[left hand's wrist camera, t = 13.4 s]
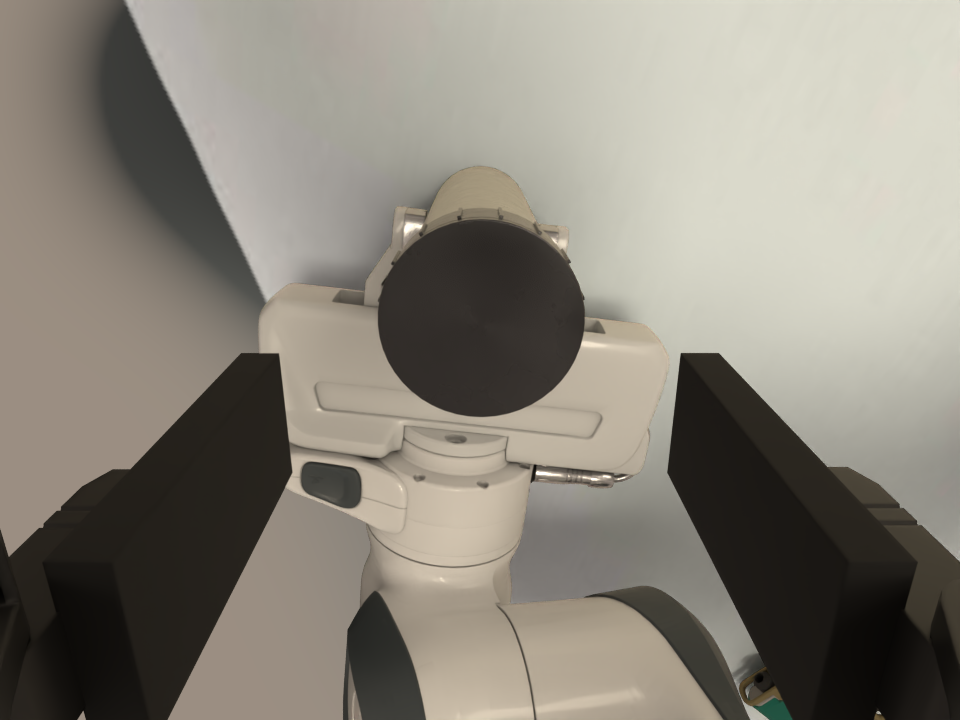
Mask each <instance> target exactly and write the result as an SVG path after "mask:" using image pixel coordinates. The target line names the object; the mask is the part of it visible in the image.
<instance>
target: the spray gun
mask: <svg viewBox="0 0 960 720" xmlns="http://www.w3.org/2000/svg"><path fill="white" fill-rule="evenodd" d="M752 682H754V685H755V686H753V687H752V688H751V689H750V692H749V695H748V698H747V696H746V692H745V689H746V687H747V686H748V685H749V684H751V683H752ZM739 691H740V694H741V697H742V699H743V701H744V702H745V703H746V704H748V705H749V706H753V707H754V708H755V709H757V710H758V711H759V712H760V713H762V714H763V715H764V716H765V717H767V718H768V719H769V720H792V718H791V716H790V714H789V712H788V710H787V708H786V706H785V704H784V702H783V700H782V698H781V696H780V694H779V692H778V690H777V688H776V686H775V684H774V682H773V680H772V678H771V676H770V674H769V672H768V670H767V668H766V666H765V667H764V668H762V669H761V670H759V671H758V672H756V673H754V674H753V675H751V676H750V677H748V678H746V679H745V680H743V681H742V682H741V684H740V686H739ZM877 711H879V709H878V708H877ZM877 711H876V712H877ZM874 719H875V720H885V719H884V717H883V716H882V714H877V713H876V714H875V718H874Z"/></svg>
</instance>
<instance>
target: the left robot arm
mask: <svg viewBox="0 0 960 720" xmlns="http://www.w3.org/2000/svg"><path fill="white" fill-rule="evenodd" d="M292 473H293V471H292V463H291V454H290V445H289V436H288V427H287V418H286V410H285V401H284V392H283V383H282V374H281V365H280V356H279V353H241V354H240V355H239V356H238V357H237V358H236V359H235V360H234V361H233V362H232V363H231V365H230V366H229V367H228V368H227V369H226V370H225V371H224V372H223V373H222V374H221V375H220V376H219V377H218V378H217V379H216V380H215V381H214V382H213V383H212V384H211V385H210V387H209V388H208V389H207V390H206V391H205V392H204V393H203V394H202V395H201V396H200V397H199V398H198V399H197V400H196V401H195V402H194V403H193V404H192V405H191V406H190V407H189V408H188V410H187V411H186V412H185V413H184V414H183V415H182V416H181V417H180V418H179V419H178V420H177V421H176V422H175V423H174V424H173V425H172V426H171V427H170V428H169V429H168V431H167V432H166V433H165V434H164V435H163V436H162V437H161V438H160V439H159V440H158V441H157V442H156V443H155V444H154V445H153V446H152V447H151V448H150V449H149V450H148V452H147V453H146V454H145V455H144V456H143V457H142V458H141V459H140V460H139V461H138V462H137V463H136V464H135V465H134V466H133V467H132V468H131V469H113V470H111V471H109V472H107V473H106V474H104V475H102V476H100V477H98V478H97V479H95V480H93V481H91V482H89V483H88V484H86V485H84V486H82V487H81V488H80V489H79V490H78V491H77V492H76V493H75V494H74V495H73V496H72V497H71V498H70V499H69V500H68V501H67V502H66V503H65V504H63V505H62V506H61V511H56V512H55V513H54V514H53V515H52V516H51V517H50V518H49V519H48V520H47V521H46V522H45V523H44V526H43V528H39V529H38V530H36V531H35V532H34V533H33V534H32V535H31V536H30V537H29V538H28V539H27V540H26V541H25V542H24V543H23V544H22V545H21V546H20V547H19V548H18V549H17V550H16V551H15V552H14V553H13V554H12V555H11V556H10V557H8V553H7V550H6V547H5V543H4V540H3V537H2V533H1V530H0V720H77V719H78V718H79V716H80V715H81V713H82V712H83V711H84V714H85V718H86V720H168V718H169V716H170V714H171V712H172V710H173V708H174V706H175V704H176V702H177V700H178V698H179V696H180V694H181V692H182V690H183V688H184V686H185V684H186V682H187V680H188V678H189V676H190V674H191V672H192V670H193V668H194V666H195V664H196V662H197V660H198V658H199V656H200V654H201V652H202V650H203V648H204V646H205V644H206V642H207V641H208V639H209V637H210V635H211V633H212V631H213V629H214V627H215V625H216V623H217V621H218V619H219V617H220V615H221V613H222V611H223V609H224V607H225V605H226V603H227V601H228V599H229V597H230V595H231V593H232V591H233V589H234V587H235V585H236V583H237V581H238V579H239V577H240V575H241V573H242V572H243V570H244V568H245V566H246V564H247V562H248V560H249V558H250V556H251V554H252V552H253V550H254V548H255V546H256V544H257V542H258V540H259V538H260V536H261V534H262V532H263V530H264V528H265V526H266V524H267V522H268V520H269V518H270V516H271V514H272V512H273V510H274V508H275V506H276V504H277V502H278V500H279V498H280V497H281V495H282V493H283V491H284V489H285V487H286V485H287V483H288V481H289V479H290V477H291V475H292ZM667 473H668V475H669V477H670V479H671V481H672V483H673V485H674V487H675V489H676V491H677V493H678V495H679V497H680V498H681V500H682V502H683V504H684V506H685V508H686V510H687V512H688V514H689V516H690V518H691V520H692V522H693V524H694V526H695V528H696V530H697V532H698V534H699V536H700V538H701V540H702V542H703V544H704V546H705V548H706V550H707V552H708V554H709V556H710V558H711V560H712V562H713V564H714V566H715V568H716V570H717V572H718V573H719V575H720V577H721V579H722V581H723V583H724V585H725V587H726V589H727V591H728V593H729V595H730V597H731V599H732V601H733V603H734V605H735V607H736V609H737V611H738V613H739V615H740V617H741V619H742V621H743V623H744V625H745V627H746V629H747V631H748V633H749V635H750V637H751V639H752V641H753V643H754V645H755V646H756V648H757V650H758V652H759V654H760V656H761V658H762V660H763V662H764V664H765V666H766V668H767V670H768V672H769V674H770V676H771V678H772V680H773V682H774V684H775V686H776V688H777V690H778V692H779V694H780V696H781V698H782V700H783V702H784V704H785V706H786V708H787V710H788V712H789V714H790V716H791V718H792V720H874V718H875V714H876V711H877V708H878V709H879V711H880V713H881V714H882V716H883V717H884V719H885V720H960V562H959V561H958V560H957V559H956V558H955V557H954V556H953V555H952V554H951V553H950V552H949V551H948V550H947V549H946V548H945V547H944V546H943V545H942V544H940V543H939V542H938V541H937V540H936V539H935V538H934V537H933V536H932V535H931V534H930V533H929V532H928V531H927V530H926V529H925V528H924V527H923V526H922V525H917V521H916V520H915V519H914V518H913V517H912V516H911V515H910V514H909V513H908V512H907V511H906V510H905V509H904V508H900V506H899V505H900V504H899V503H898V502H897V501H896V500H895V499H893V498H892V497H891V496H890V495H889V494H888V493H887V492H886V491H885V490H884V489H883V488H882V487H881V486H880V485H879V484H877V483H875V482H874V481H872V480H870V479H868V478H866V477H865V476H863V475H861V474H859V473H857V472H856V471H854V470H852V469H850V468H848V467H827V466H826V465H825V464H824V463H823V462H822V461H821V460H820V459H819V458H818V457H817V456H816V455H815V454H814V453H813V451H812V450H811V449H810V448H809V447H808V446H807V445H806V444H805V443H804V442H803V441H802V440H801V439H800V438H799V437H798V436H797V435H796V434H795V433H794V432H793V431H792V429H791V428H790V427H789V426H788V425H787V424H786V423H785V422H784V421H783V420H782V419H781V418H780V417H779V416H778V415H777V414H776V413H775V412H774V411H773V410H772V408H771V407H770V406H769V405H768V404H767V403H766V402H765V401H764V400H763V399H762V398H761V397H760V396H759V395H758V394H757V393H756V392H755V391H754V390H753V389H752V388H751V386H750V385H749V384H748V383H747V382H746V381H745V380H744V379H743V378H742V377H741V376H740V375H739V374H738V373H737V372H736V371H735V370H734V369H733V368H732V367H731V366H730V364H729V363H728V362H727V361H726V360H725V359H724V358H723V357H722V356H721V355H720V354H719V353H681V356H680V365H679V374H678V383H677V392H676V401H675V410H674V418H673V427H672V436H671V445H670V454H669V463H668V471H667Z"/></svg>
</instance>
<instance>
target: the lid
mask: <svg viewBox="0 0 960 720" xmlns="http://www.w3.org/2000/svg"><path fill="white" fill-rule="evenodd" d="M569 263H571V262H570V260H569V258H568V256H567V255H566V253H565V251H564V250H563V248H562V249H561V250H560V249H559V247H558V245H557V244H556V243H555V242H554V241H553V240H552V238H551V237H550V236H549V235H548V234H547V233H545V232H544V231H543V230H542V229H541V228H540V227H539V224H538V223H537V222H534V223H532V222H531V221H529V220H527V219H525V218H523V217H521V216H519V215H517V214H514V213H511V212H508V211H504V210H502V208H501V207H498V209H493V208H470V209H464V210H462V207H461V208H459V209H458V211H454V212H452V213H449V214H446V215H443V216H441V217H439V218H437V219H435V220H433V221H431V222H430V223H428V224H426V223H424V224H423V225H422V227H421V229H420V230H419V231H418V232H417V233H416V234H415V235H414V236H412V237H411V239H410V240H409V241H408V242H407V243H406V245H405V246H404V247H403V249H402V250H401V251H399V250H398V252H397V253H396V255H395V257H394V259H393V261H392V262H391V265H393V266H392V268H391V270H390V272H389V274H388V276H387V278H386V281H385V283H384V285H383V288H382V292H381V294H380V296H379V298H378V302H379V306H378V330H379V337H380V341H381V345H382V348H383V351H384V353H385V356H386V358H387V360H388V362H389V364H390V366H391V367H392V369H393V371H394V372H395V374H396V375H397V376H398V378H399V379H400V380H401V381H402V383H403V384H404V385H405V386H406V387H407V388H408V389H410V390H411V391H412V392H413V393H414V394H415V395H417V396H418V397H419V398H421V399H422V400H424V401H426V402H427V403H429V404H431V405H432V406H435V407H437V408H439V409H442V410H444V411H447V412H450V413H454V414H457V415H463V416H469V417H492V416H499V415H505V414H509V413H512V412H515V411H518V410H521V409H523V408H525V407H528V406H530V405H532V404H533V403H535V402H537V401H538V400H540V399H542V398H543V397H544V396H546V395H547V394H548V393H549V392H551V391H552V390H553V389H554V388H555V387H556V386H557V385H558V384H559V383H560V382H561V381H562V379H563V378H564V377H565V375H566V374H567V373H568V372H569V370H570V368H571V367H572V365H573V363H574V361H575V359H576V357H577V354H578V352H579V350H580V347H581V343H582V339H583V335H584V326H585V308H584V302H583V300H584V296H583V294H582V292H581V290H580V286H579V283H578V281H577V279H576V277H575V275H574V273H573V271H572V269H571V267H570V265H569Z"/></svg>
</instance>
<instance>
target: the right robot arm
mask: <svg viewBox="0 0 960 720" xmlns="http://www.w3.org/2000/svg"><path fill="white" fill-rule="evenodd" d="M427 212H428V211H427V210H423V209H416V208H409V207H401V206H397V208H396V209H395V213H394V218H393V230H392V243H391V245H390V246H389V248H388V249H387V251H386V252H385V253H384V255H383V256H382V258H381V259H380V261H379V262H378V263H377V265H376V266H375V268H374V269H373V271H372V272H371V274H370V275H369V277H368V278H367V280H366V281H365V291H360V290H351V289H343V288H334V287H325V286H317V285H309V284H301V283H291V284H288V285H286V286H285V287H284V288H282V289H281V290H280V291H279V292H277V293H276V294H275V295H274V296H273V297H272V298H271V299H270V300H269V301H268V302H267V303H266V304H265V305H264V307H263V309H262V311H261V313H260V316H259V322H258V345H259V353H279V356H280V365H281V374H282V383H283V392H284V401H285V410H286V418H287V427H288V436H289V445H290V454H291V463H292V471H293V473H292V475H291V477H290V479H289V481H288V483H287V485H286V487H285V488H286V489H288V490H290V491H292V492H294V493H296V494H299V495H301V496H304V497H306V498H309V499H312V500H314V501H317V502H320V503H322V504H325V505H327V506H330V507H332V508H334V509H337V510H339V511H341V512H344V513H346V514H348V515H351V516H353V517H355V518H357V519H359V520H361V521H363V522H365V523H366V528H367V532H368V536H369V539H370V544H371V550H370V554H369V556H368V559H367V561H366V563H365V566H364V569H363V573H362V579H361V594H360V609H359V611H358V612H357V614H356V616H355V617H354V619H353V621H352V623H351V625H350V627H349V628H348V634H347V649H346V664H345V678H344V695H343V720H750V718H749V716H748V714H747V712H746V710H745V707H744V705H743V703H742V700H741V698H740V695H739V693H738V690H737V688H736V685H735V682H734V680H733V677H732V675H731V672H730V670H729V668H728V665H727V663H726V661H725V659H724V657H723V655H722V653H721V651H720V649H719V647H718V645H717V644H716V642H715V640H714V639H713V637H712V636H711V634H710V633H709V632H708V631H707V629H706V628H705V627H704V626H703V624H702V623H701V622H700V621H699V620H698V619H697V618H696V617H695V616H694V615H693V614H692V613H691V612H690V611H688V610H687V609H686V608H685V607H684V606H683V605H681V604H680V603H679V602H677V601H676V600H675V599H673V598H672V597H671V596H669V595H668V594H666V593H665V592H663V591H661V590H659V589H656V588H654V587H649V586H638V587H632V588H627V589H621V590H616V591H610V592H605V593H599V594H593V595H590V596H586V597H584V598H578V599H566V600H554V601H542V602H530V603H518V604H510V601H511V592H512V582H511V576H510V570H509V566H510V561H511V559H512V557H513V555H514V554H515V552H516V550H517V548H518V545H519V543H520V540H521V536H522V531H523V525H524V519H525V514H526V508H527V502H528V496H529V490H530V483H532V481H535V482H544V483H554V484H581V485H588V487H593V488H611V487H612V486H613V484H614V483H615V482H622V481H625V480H627V479H629V478H631V477H633V476H634V475H636V474H638V473H639V472H640V471H641V469H642V467H643V465H644V462H645V458H646V454H647V449H648V445H649V441H650V431H649V428H648V427H649V425H650V423H651V420H652V418H653V415H654V413H655V410H656V408H657V405H658V402H659V399H660V396H661V394H662V391H663V388H664V384H665V381H666V378H667V374H668V370H669V365H670V361H669V356H668V354H667V351H666V349H665V348H664V346H663V344H662V343H661V341H660V340H659V338H658V337H657V336H656V335H655V333H654V332H653V331H652V330H651V329H650V328H649V327H648V326H646V325H644V324H640V323H632V322H623V321H615V320H606V319H598V318H589V317H585V326H584V335H583V339H582V343H581V347H580V350H579V352H578V354H577V357H576V359H575V361H574V363H573V365H572V367H571V368H570V370H569V372H568V373H567V374H566V375H565V377H564V378H563V379H562V381H561V382H560V383H559V384H558V385H557V386H556V387H555V388H554V389H553V390H552V391H551V392H549V393H548V394H547V395H546V396H544V397H543V398H542V399H540V400H538V401H537V402H535V403H533V404H532V405H530V406H528V407H525V408H523V409H521V410H518V411H515V412H512V413H509V414H505V415H499V416H492V417H469V416H463V415H457V414H454V413H450V412H447V411H444V410H442V409H439V408H437V407H435V406H432V405H431V404H429V403H427V402H426V401H424V400H422V399H421V398H419V397H418V396H417V395H415V394H414V393H413V392H412V391H411V390H410V389H408V388H407V387H406V386H405V385H404V384H403V383H402V381H401V380H400V379H399V378H398V376H397V375H396V374H395V372H394V371H393V369H392V367H391V366H390V364H389V362H388V360H387V358H386V356H385V353H384V351H383V348H382V345H381V341H380V337H379V330H378V306H379V302H378V298H379V296H380V294H381V292H382V288H383V285H384V283H385V281H386V278H387V275H388V274H389V272H390V270H391V268H392V266H393V265H391V262H392V261H393V259H394V257H395V255H396V253H397V252H398V250H399V251H401V250H402V249H403V247H404V246H405V245H406V243H407V242H408V241H409V240H410V239H411V237H412V236H414V235H415V234H416V233H417V232H418V231H419V230H420V229H421V227H422V225H423V224H424V222H425V219H426V217H427ZM539 227H540V228H541V229H542V230H543V231H544V232H545V233H547V234H548V235H549V236H550V237H551V238H552V240H553V241H554V242H555V243H556V244H557V245H558V247H559V249H560V250H561V249H562V248H563V250H564V251H565V253H567V247H568V241H569V230H568V229H567V227H563V226H556V225H546V224H539ZM614 473H619V475H614Z"/></svg>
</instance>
